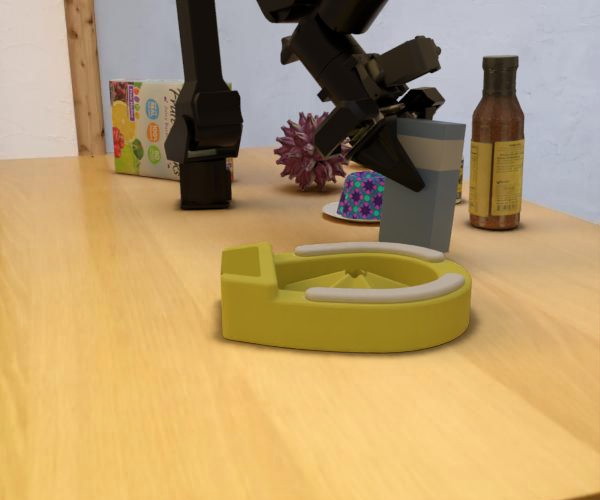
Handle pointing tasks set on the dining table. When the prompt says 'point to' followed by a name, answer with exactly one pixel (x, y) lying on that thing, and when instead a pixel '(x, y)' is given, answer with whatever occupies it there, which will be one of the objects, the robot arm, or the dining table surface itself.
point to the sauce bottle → (497, 148)
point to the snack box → (145, 126)
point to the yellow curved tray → (343, 297)
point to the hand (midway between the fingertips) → (433, 185)
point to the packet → (438, 185)
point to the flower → (308, 154)
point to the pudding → (359, 198)
